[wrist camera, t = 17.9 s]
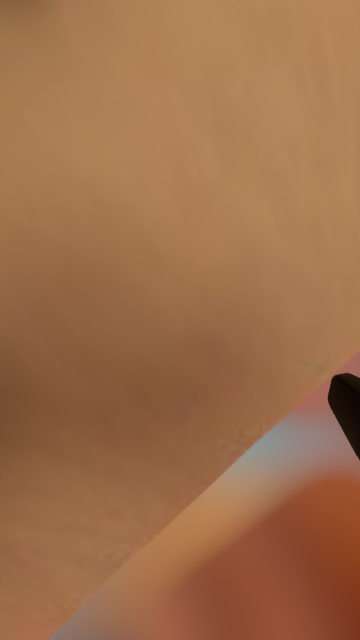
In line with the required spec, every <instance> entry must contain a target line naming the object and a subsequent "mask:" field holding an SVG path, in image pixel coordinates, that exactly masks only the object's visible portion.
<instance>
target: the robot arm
mask: <svg viewBox="0 0 360 640" xmlns="http://www.w3.org/2000/svg"><path fill="white" fill-rule="evenodd" d="M328 402H329V405H330V407H331V409H332V411H333V413H334V415H335V417H336V418H337V420H338V422H339V424H340V426H341V428H342V429H343V432H344V433H345V435H346V437H347V439H348V441H349V443H350V444H351V446H352V448H353V450H354V451H355V453H356V455H357V457H358V458H359V460H360V378H359V377H357V376H354V375H352V374H350V373H344V374H338V375H335V376H333V378H332V380H331V384H330V389H329V393H328Z"/></svg>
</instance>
